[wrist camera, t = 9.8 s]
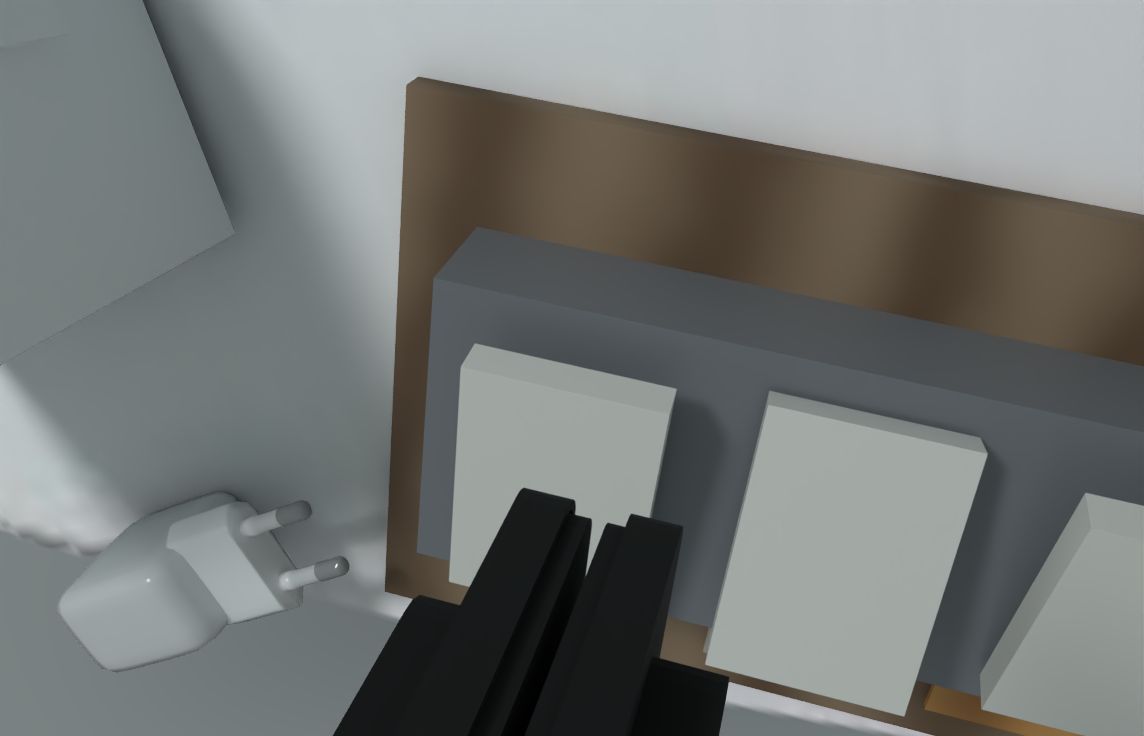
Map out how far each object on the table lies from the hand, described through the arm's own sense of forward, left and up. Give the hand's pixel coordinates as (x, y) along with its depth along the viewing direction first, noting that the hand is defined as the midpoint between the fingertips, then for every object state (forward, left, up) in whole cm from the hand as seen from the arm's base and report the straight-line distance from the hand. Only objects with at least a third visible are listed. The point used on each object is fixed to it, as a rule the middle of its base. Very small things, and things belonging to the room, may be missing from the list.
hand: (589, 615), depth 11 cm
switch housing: (-5, +11, -23) cm, 25 cm away
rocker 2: (-5, +11, -17) cm, 20 cm away
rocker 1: (+3, +11, -17) cm, 20 cm away
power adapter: (+16, +21, -23) cm, 35 cm away
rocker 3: (-13, +11, -17) cm, 23 cm away
